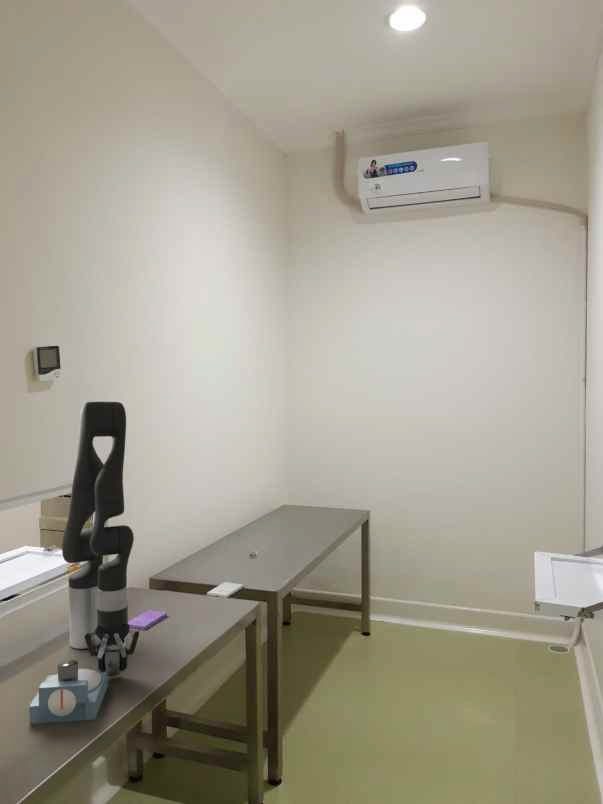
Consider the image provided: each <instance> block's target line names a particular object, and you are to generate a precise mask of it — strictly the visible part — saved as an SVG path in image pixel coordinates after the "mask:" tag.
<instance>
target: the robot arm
mask: <svg viewBox="0 0 603 804" xmlns="http://www.w3.org/2000/svg"><path fill="white" fill-rule="evenodd" d="M126 434H127V413H126V409H125V406H124V405H123V404H122V403H121V402H119V401H87V402H85V403H83V406H82V408H81V411H80V416H79V430H78V445H77V446H78V447H77V454H76V463H75V468H74V474H73V479H72V486H71V497H70V505H69V511H68V517H67V520H66V525H65V528H64V534H63V537H62V543H61V544H62V546H61V552H62V557H63V560H64V561H65V562H66V563H67V564H78V563H84V562H86V563H85V564H84V565H83V566H82V567H81V568H79V569H77V570H76V571H74V572H73V573H71V574H70V575H69V577H68V604H69V605H68V607H69V609H68V614H69V616H68V617H69V646H70V647H71V648H74V649H77V650H78V649H80V650H82V649H88V652H89V654H90V657H97V666H98V671H100V672H104V650H105V648H107V647H108V646H118V648H119V650H120V652H121V655H122V657H121V671H122V672H125V670H126V669H127V668H128V665H129V664H128V663H129V658H128V657H129V656H130V655H131V656H132V655H133V654H134V653H135V649H136V646H137V644H138V639H139V637H140V633H141V630H140V629H139V628H137V629H133V628H130V626H129V625H128V621H129V603H128V602H129V599H128V598H129V595H128V588H127V586H128V584H127V581H128V580H127V571H128V564H129V558H130V555H131V552H132V549H133V546H134V545H133V544H134V538H135V535H134V532H133V530H132V529H131V527H130V526H128V525H125V524H122V525H113V526H111V525H110V526H105V523H106V522H107V521H108V520H110V519H111V518H115V517H119V516H121V515H124V512H125V497H124V496H125V494H124V465H125V464H124V463H125V451H126V450H125V449H126V438H127V437H126ZM95 437H96V438H97V437H101V438H102V437H104V438H106V437H111V447H110V451H109V453H108V457H106V460H105V462H103V461H102V460H101V458H100V457H99V455H98V453H97V451H96V449H95V447H94V443H93V442H94V438H95ZM94 513H95V514H94ZM93 515H95V516H94V521H93V526H92V527H89V528H84V526H85V524H86V523H87V522H88V520H89V519H90V517H92V516H93ZM112 555H113V556H114V555H117V556H116V557H115V558H113V559H112V560H111V561H108V562H104V556H105V557H106V556H112ZM128 634H129V635H130V638H131V644H130V646H129V647H128V646H127V643H126V637H127V635H128ZM97 646H99V649H98V648H97Z"/></svg>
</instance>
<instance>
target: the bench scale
mask: <svg viewBox="0 0 603 804" xmlns="http://www.w3.org/2000/svg"><path fill="white" fill-rule="evenodd" d="M107 689H108V676H107V672H101V671H96V670H93V669H88V668H78V681H62V682H58V673H57V674H48V675H47V677H46V678H45V680H44V681H43V682H41V683H40V685H39V687H38V692H37V693H36V695H35V697H34V698H33V700H32V702H31V703H30V705H29V725H38V724H41V725H42V724H52V723H55V724H56V723H67V722H80V721H81V722H82V721H94V720H96V717H97V716H98V713H99V711H100V708H101V706H102V702H103V699H104V697H105V695H106V693H107Z"/></svg>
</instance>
